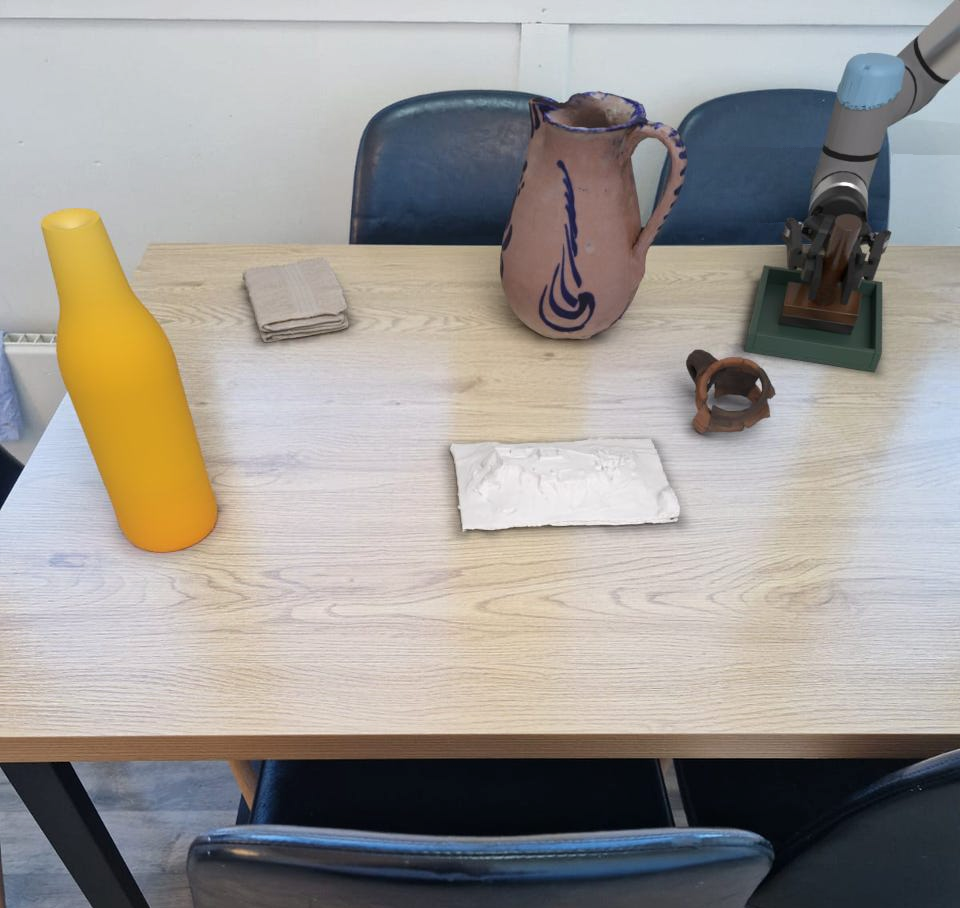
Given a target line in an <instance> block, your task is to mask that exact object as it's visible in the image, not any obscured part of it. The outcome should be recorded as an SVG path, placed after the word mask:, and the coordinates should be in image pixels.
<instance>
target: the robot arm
mask: <svg viewBox="0 0 960 908" xmlns="http://www.w3.org/2000/svg"><path fill="white" fill-rule="evenodd" d="M958 74H960V0H953V1H952V2H951V3H950V4H949V5H948V6H946V7H945V9H944V10H943V11H942V12H941V13H939V14H938V15H937V16H936V17H935V18H934V19H933V20H932V21H931V22H930V23H929V24H927V26H925V28H924V29H923V30H922V31H921V32H919V34H918V35H917V36H916V37H915V38H914V39H912V40H911V41H910V42H909V43H908V44H907V45H906V46H904V48H903V49H902V50H900V51H899V53H898V54H897V55H894V54H887V53H882V52H867V53H858V54H855V55H853V56H851V58H850V59H849V60H848V61H847V62H846V65H845V68H844V70H843V74H842V76H841V80H840V82H839V83H838V85H837V88H836V96H835V101H834V104H833V108H832V111H831V115H830V119H829V123H828V127H827V130H826V134H825V139H824V142H823V144H822V145H823V146H822V148H821V152H820V154H819V158H818V162H817V166H816V167H815V169H814V171H813V175H812V178H811V181H810V198H809V206H808V212H807V217H806V219H805V220H804V221H803V222H802V221H798V220H797V219H796V218H793V217H787V218H786V219H785V223H784V227H783V231H782V234H781V240H782V241H783V242H784V243H785V245H786V262H787V263H786V264H787V265H786V266H787V267H786V268H787V269H790V270H798V269H801V271H802V273H801V276H800V278H801V279H802V280H803V281H807V282H810V287H809V295H808V300H812V301H814V300H815V297H816V294H817V291H818V287H819V284H820V281H821V275H822V266H823V257H824V254H823V253H825V250H826V247H827V244H828V241H829V238H830V235H831V232H832V229H833V226H834V223H835V220H836V218H837V217H838V216H840V215H843V214H851V215H855V216H857V217H859V218H860V219H861V221H862V226H861V229H860V232H859V234H858V237H857V240H856V243H855V246H854V249H853V251H852V254H851V257H850V260H849V263H848V266H847V268H846V271H845V274H844V277H843V280H842V285H841V300H840V305H847V303H848V300H849V297H850V294H851V291H852V288H855V289H858V288H859V286H860V284H861V281H862V279H865V280H868V281H871V280H873V281H874V279H875V277H876V273H877V271H878V268H879V265H880V263H881V259H882V255H883V254H884V253H886V250H887V248H888V245H889V241H890V239H891V235H892V231H891V230H888V229H883V230H881V231H880V232H878V231H875V232H872V228H871V226H870V225H869V224H868V216H869V215H868V213H869V211H868V209H869V188H870V183H871V180H872V176H873V174H874V170H875V168H876V165H877V162H878V157H879V155H880V152H881V149H882V145H883V143H884V140H885V138H886V134H887V131H888V128H890V127H892V126H894V125H895V124H897V123H899V122H900V121H902V120H903V119H905V118H907V117H909V116H911V115H913V114H915V113H918V112H919V111H921V110H922V109H923V108H925V107H926V106H928V105H929V104H930V103H931V102H932V101H933V100H934V99H935V97H936V96H937V95H938V94H939V92H940V91H941V90H942V89H943V88H944V87H945V86H946V85H948V83H949V82H950V81H951V80H953V79H954V78H955V77H956V76H957V75H958ZM803 238H804V239H806V240H807V241H808V242H810V246H809V248H808V250H807V252H804V251H803V249H804V248H803ZM865 244H867V246H868V247H869V248H868V252H869V253H868V252H863V250H862V247H861V246H864V245H865ZM867 255H868V258H867ZM866 258H867V260H866Z"/></svg>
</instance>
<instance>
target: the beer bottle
mask: <svg viewBox="0 0 960 908" xmlns="http://www.w3.org/2000/svg"><path fill="white" fill-rule="evenodd" d="M40 227H41V230H42V231H41V232H42V235H43V239H44V245H45V248H46V252H47V256H48V260H49V265H50V268H51V271H52V272H51V273H52V275H53V281H54V284H55V289H56V292H57V297H58V303H59V316H58V322H57V331H56V343H55V346H56V347H55V351H56V360H57V364H58V368H59V372H60V376H61V379H62V381H63V384H64V387H65V389H66V391H67V394H68V396H69V398H70V401H71V403H72V406H73V409H74V411H75V414H76V416H77V419H78V421H79V423H80V426H81V429H82V431H83V434H84V436H85V439H86V442H87V445H88V446H89V450H90V452H91V455H92V457H93V460H94V462H95V465H96V467H97V469H98V472H99V474H100V477H101V480H102V482H103V485H104V487H105V490H106V493H107V495H108V498H109V500H110V502H111V505H112V508H113V511H114V515H115V517H116V520H117V523H118V525H119V528H120V530H121V531H122V533H123V534H124V536H125V538H126V539H127V540H128V541H129V542H130V543H132V544H133V546H135V547H137V548H139V549H142V550H145V551H147V552H154V553H171V552H176V551H181V550H184V549H187V548H190V547H191V546H194V545H196V544H198V543H200V542H201V541H202V540H204V539H205V538H206V537H207V536H208V535H209V534H210V533H211V532H212V530H213V529H214V527H215V526H216V523H217V518H218V505H217V499H216V496H215V492H214V490H213V486H212V484H211V480H210V477H209V474H208V470H207V467H206V463H205V460H204V455H203V452H202V449H201V445H200V441H199V438H198V435H197V430H196V427H195V424H194V420H193V416H192V413H191V409H190V406H189V402H188V398H187V395H186V391H185V388H184V384H183V380H182V376H181V373H180V369H179V365H178V362H177V361H178V360H177V358H176V355H175V352H174V349H173V346H172V345H171V342H170V340H169V337H168V335H167V334H166V332H165V331H164V328H163V327H162V325H161V324H160V323H159V322H158V320H157V319H156V318H155V316H154V315H153V314H152V313H151V312H150V310H149V309H148V308H147V307H146V306H145V304H143V302H142V301H141V300H140V299H139V298H138V296H137V295H136V294H135V292H134V291H133V289H132V287H131V285H130V283H129V280H128V279H127V276H126V274H125V272H124V269H123V267H122V265H121V262H120V260H119V257H118V255H117V252H116V250H115V247H114V245H113V242H112V240H111V238H110V236H109V233H108V232H107V229H106V227H105V224H104V222H103V220H102V217H101V215H100V213H99V212H98V211H96V210H94V209H91V208H85V207H71V208H65V209H61V210H56V211H53V212H51V213H49V214H46V215H45V216H44V217H43V218H42V219H41V221H40Z"/></svg>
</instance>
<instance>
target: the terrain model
mask: <svg viewBox="0 0 960 908" xmlns="http://www.w3.org/2000/svg"><path fill="white" fill-rule="evenodd" d="M449 452H451V455H452V457H453V461H454V462H453V463H454V467H455V468H454V469H455V475H456V481H457V482H456V484H457V493H456V494H457V496H458V505H457V509H459V511H460V519H461V520H460V521H461V532H462V533H465V532H466V531H468V530H475V529H477V530H484V531H495V530H501V529H502V530H503V529H509V528H514V527H515V528H525V527H529V528H530V527H534V528H535V527H542V526H548V525H550V526H552V527H553V526H554V527H558V526H559V527H563V526H564V527H566V526H600V525H601V526H622V525H623V526H624V525H641V524H645V523H648V524H660V523H661V524H665V523H673V522H674V523H675V522H676V523H677V521H678V520H679V518H678V517H679V516H680V514H681V506H680V503H679V499H678V496H677V494H676V493H675V491H674V489H673V488H672V486H670V484H669V481H668V479H667V478H668V476H667V475H666V472H665V471H664V468H663V466H664V465H663V464H662V461H661V457H660V454H658V450H657V449H656V447H655V444H654V443H653V441H652V439H651V438H625V437H623V438H619V437H615V438H606V437H604V436H600V437H597V438H590V437H588V439H582V440H581V439H580V440H574V441H552V442H521V443H501V442H499V441H484V442H476V443H455V442H452V444H450V447H449Z"/></svg>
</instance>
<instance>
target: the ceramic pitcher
mask: <svg viewBox="0 0 960 908" xmlns="http://www.w3.org/2000/svg"><path fill="white" fill-rule="evenodd" d="M528 109H529V116H530V117H529V118H530V135H529V141H528V147H527V150H526V151H527V152H526V155H525V160H524V163H523V167H522V169H521V173H520V176H519V181H518V183H517V187H516V191H515V193H514V197H513V200H512V203H511V206H510V210H509V213H508V216H507V221H506V225H505V227H504V231H503V232H504V233H503V237H502V241H501V248H500V256H499V275H500V281H501V286H502V287H501V288H502V290H503V292H504V295H505V298H506V300H507V302H508V304H509V306H510V308H511V310H512V312H513V313H514V314H515V315H516V317H517V318H518V319H519V320H520V321H521V322H522V323H524V325H526V326H527V327H528V328H529V329H531V330H533V331H534V332H536V333H537V334H539V335H541V336H543V337H545V338H549V339H553V340H554V339H555V340H556V339H571V340H575V339H578V340H588V339H590V338H591V337H592V336H597V335H599V334H600V333H601V332H604V331H606V330H608V328H610V327H611V326H613V325H614V324H616V322H618V321H619V320H621V319H622V317H623V315H624V314H625V313H626V312H627V310H629V308H630V306H631V304H632V303H633V301H634V299H635V296H636V294H637V292H638V289H639V288H640V284H641V282H642V280H643V278H644V277H645V273H646V262H647V261H646V260H647V254H648V251H649V249H650V247H651V246H652V244H653V241H654V239H655V238H656V236H657V235H658V234H659V232H660V230H661V229H662V228H663V225H664V223H665V222H666V221H667V219H668V217H669V215H670V212H671V211H672V210H673V207H674V205H675V203H676V202H677V199H678V197H679V194H680V193H681V190H682V188H683V184H684V182H685V176H686V175H685V174H686V169H687V165H688V154H687V148H686V146H685V143H684V142H683V139H682V138H681V136H680V135H679V133H678V132H677V130H676V129H675V128H673V127H672V126H671V125H668V124H664V123H663V122H660V121H651V120H648V119H647V112H646V109H645V106H644V105H643V103H640V102H639V101H637V100H635V99H631V98H628V97H625V96H621V95H617V94H615V93H610V92H603V91H600V90H598V91H585V92H582V93H581V92H577V93H573V94H572V95H570V96H569V98H568V100H566V101H564V102H561V101H560V102H558V101H556V100H554V99H552V98H550V97H544V96H537V97H531V99H530V100H529V101H528ZM647 139H655V140H658V141H659V142H661V143H662V145H663V146H664V147H665V148H666V149H667V153H668V155H669V160H670V172H669V175H668V179H667V183H666V187H665V189H664V192H663V194H662V196H661V198H660V200H659V203H658V205H657V206H656V208H655V209H654V211H653V212H652V214H651V216H650V217H649V218H648V220H647V222H646V223H645V225H644V226H643V225H642V215H641V208H640V203H639V196H638V191H637V185H636V184H637V183H636V178H635V173H634V167H633V166H634V165H633V160H632V156H634V153H635V151H636V149H637V147H638V145H639V144H640V143H641V142H643V141H645V140H647Z"/></svg>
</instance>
